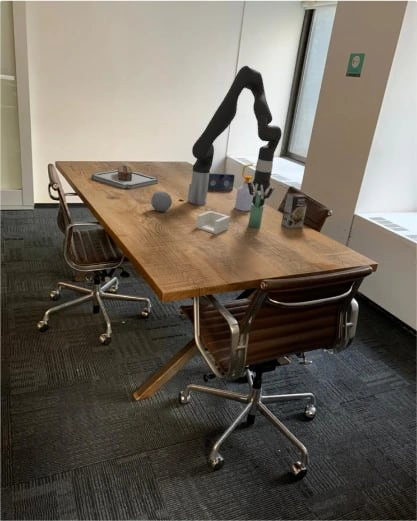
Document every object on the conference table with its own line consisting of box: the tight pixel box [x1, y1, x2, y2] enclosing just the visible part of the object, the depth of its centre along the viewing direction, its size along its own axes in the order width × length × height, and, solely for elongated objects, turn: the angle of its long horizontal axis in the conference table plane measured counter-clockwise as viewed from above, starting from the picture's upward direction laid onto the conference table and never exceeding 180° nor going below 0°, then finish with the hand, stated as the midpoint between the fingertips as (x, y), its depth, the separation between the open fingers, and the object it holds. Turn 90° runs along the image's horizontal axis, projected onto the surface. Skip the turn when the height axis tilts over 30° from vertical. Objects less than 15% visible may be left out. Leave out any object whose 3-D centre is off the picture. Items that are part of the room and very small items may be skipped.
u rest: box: [195, 210, 231, 235], centre depth 206 cm, size 11×11×6 cm
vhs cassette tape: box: [207, 172, 236, 192], centre depth 274 cm, size 18×3×10 cm, turn 108°
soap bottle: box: [234, 163, 254, 212], centre depth 239 cm, size 9×9×25 cm
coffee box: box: [281, 193, 309, 229], centre depth 223 cm, size 9×6×16 cm
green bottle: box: [247, 192, 265, 229], centre depth 215 cm, size 6×6×16 cm
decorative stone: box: [150, 190, 173, 213], centre depth 220 cm, size 10×10×10 cm
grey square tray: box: [91, 165, 159, 190], centre depth 267 cm, size 30×30×8 cm
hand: (257, 205), depth 214 cm, fingers closed on green bottle, 3 cm apart
